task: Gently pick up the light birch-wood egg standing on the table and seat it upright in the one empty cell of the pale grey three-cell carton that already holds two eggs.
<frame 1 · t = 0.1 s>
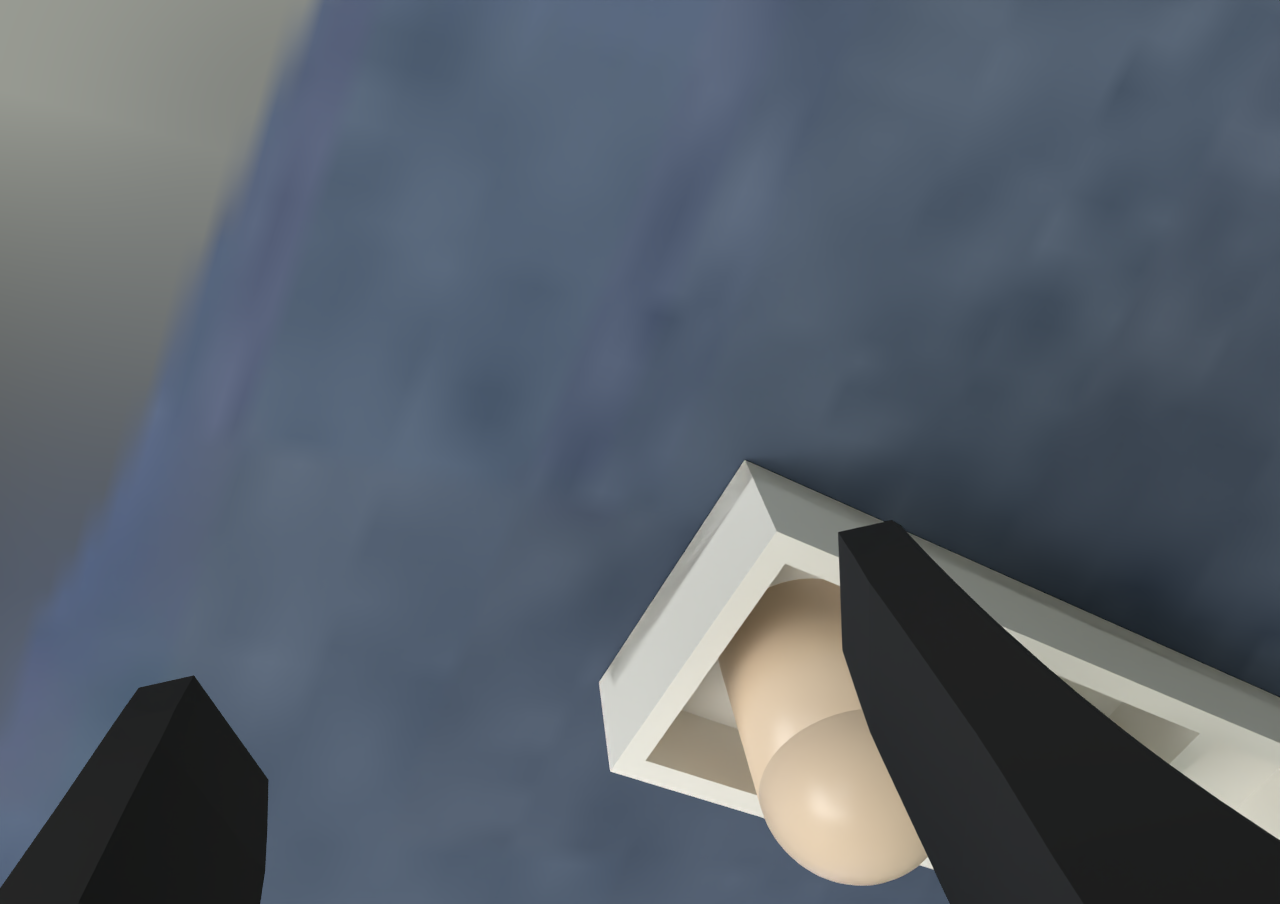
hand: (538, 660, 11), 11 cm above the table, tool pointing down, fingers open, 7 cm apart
egg carton: (984, 699, 27), on the table
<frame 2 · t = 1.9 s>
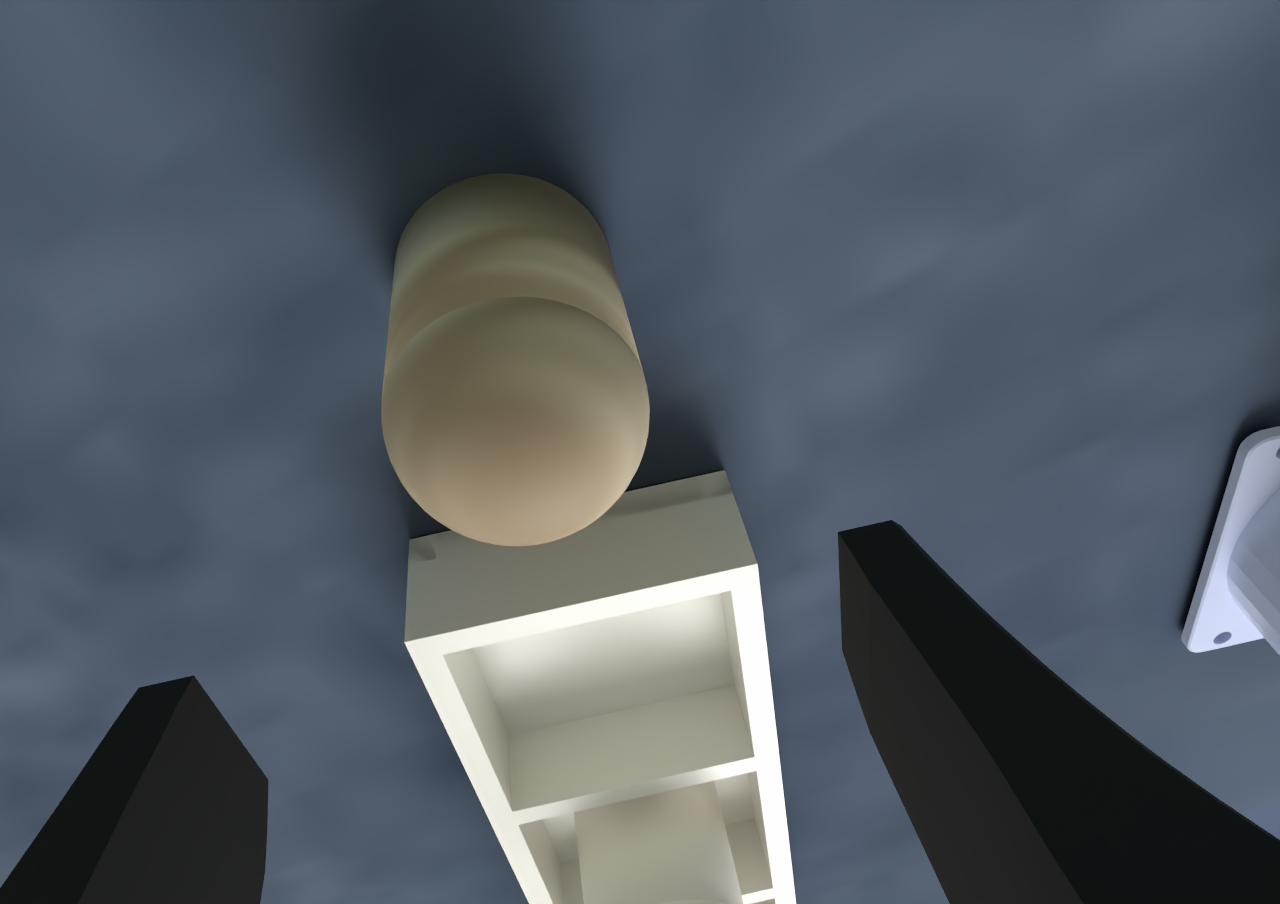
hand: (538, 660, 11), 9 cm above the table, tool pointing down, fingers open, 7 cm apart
egg carton: (638, 761, 28), on the table
wooden egg: (504, 276, 18), on the table
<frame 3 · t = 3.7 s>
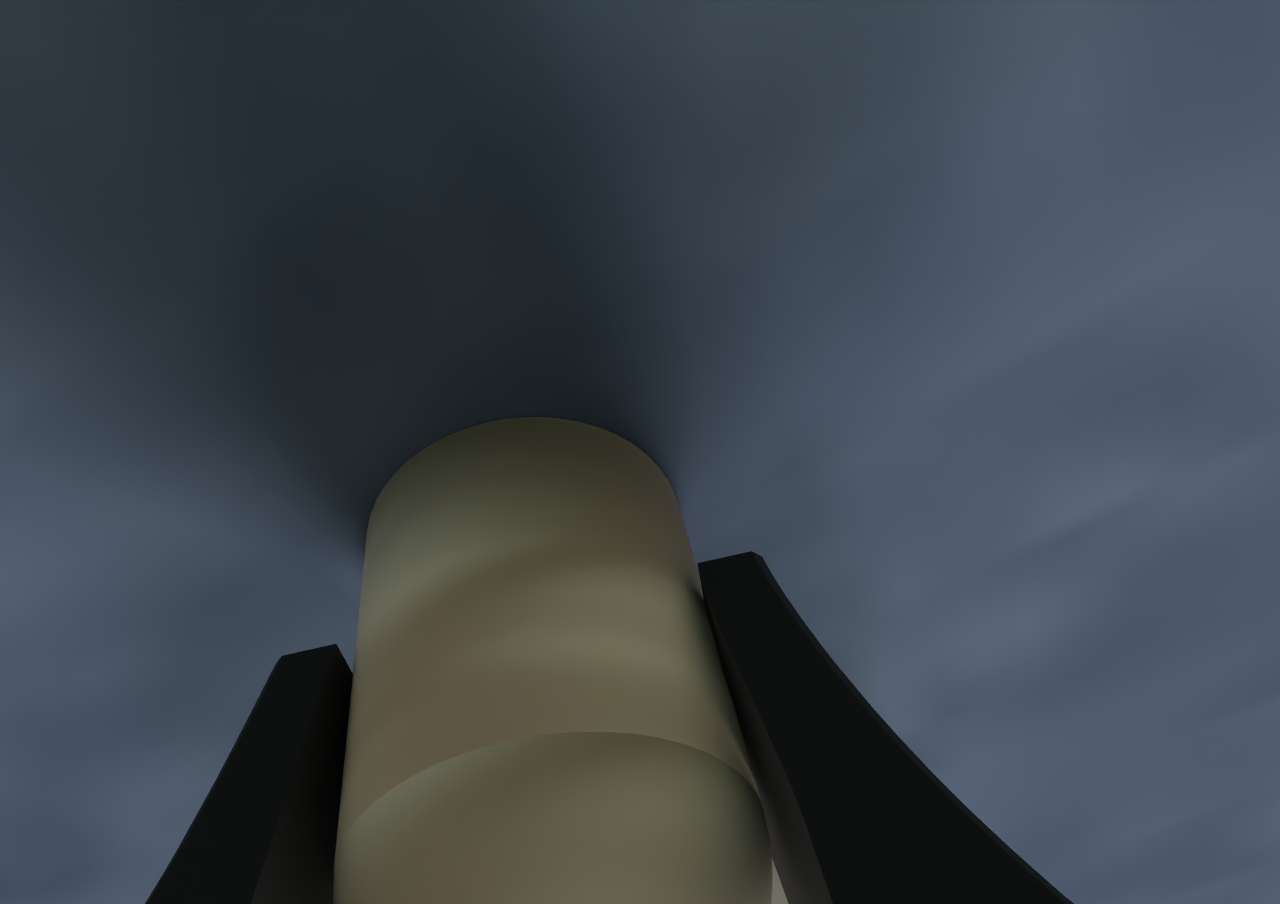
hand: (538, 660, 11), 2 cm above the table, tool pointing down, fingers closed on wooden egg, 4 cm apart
wooden egg: (527, 543, 13), on the table, touching gripper
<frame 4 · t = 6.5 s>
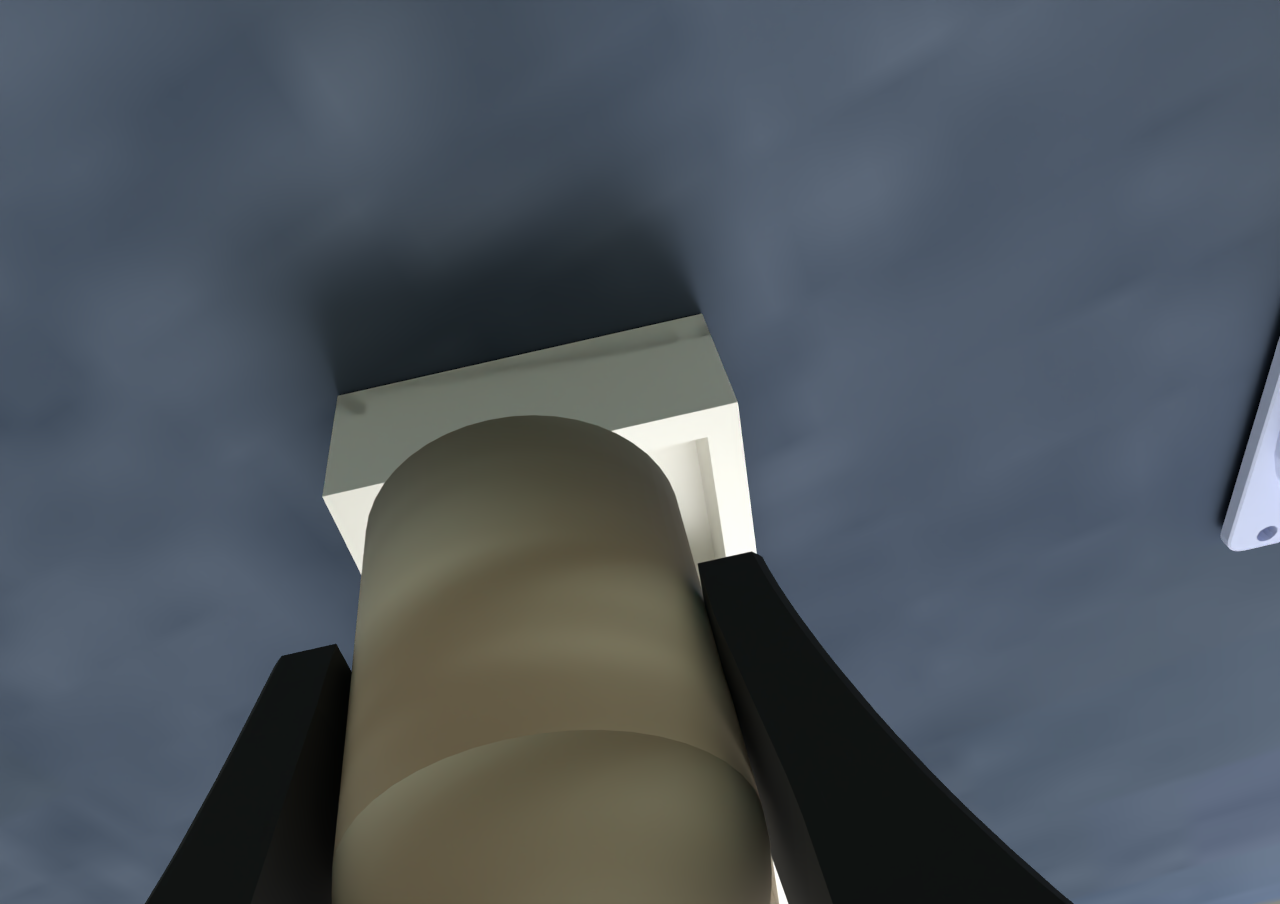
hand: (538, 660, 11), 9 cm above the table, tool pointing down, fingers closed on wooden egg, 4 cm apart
egg carton: (614, 678, 25), on the table
wooden egg: (527, 542, 13), point 7 cm above the table, touching gripper
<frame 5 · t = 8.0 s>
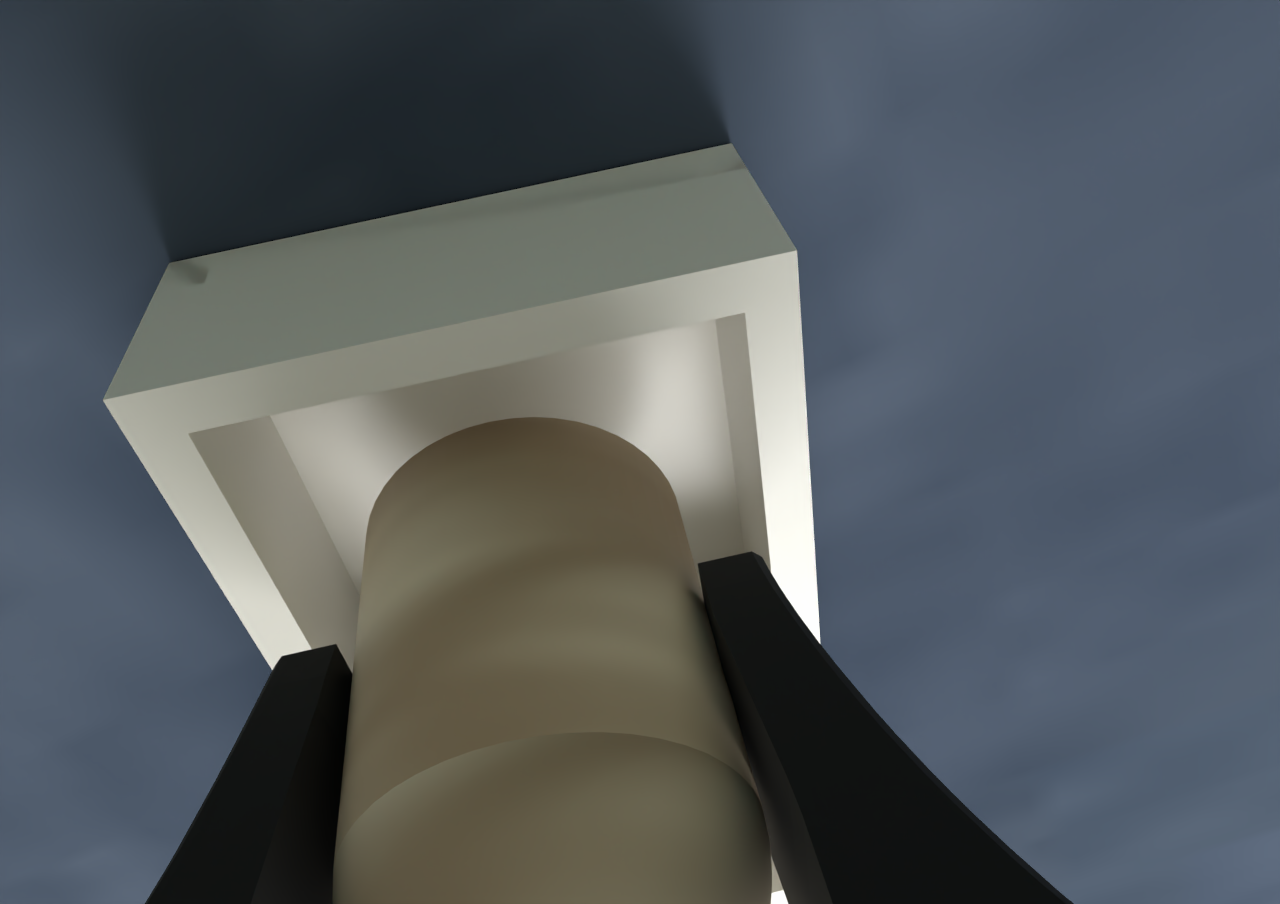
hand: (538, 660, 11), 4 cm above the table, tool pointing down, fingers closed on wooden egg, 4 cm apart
egg carton: (598, 694, 19), on the table
wooden egg: (527, 543, 13), point 3 cm above the table, touching gripper
when the fingers open (4 cm above the table, at t = 9.2 s): wooden egg drops 1 cm, resting on egg carton.
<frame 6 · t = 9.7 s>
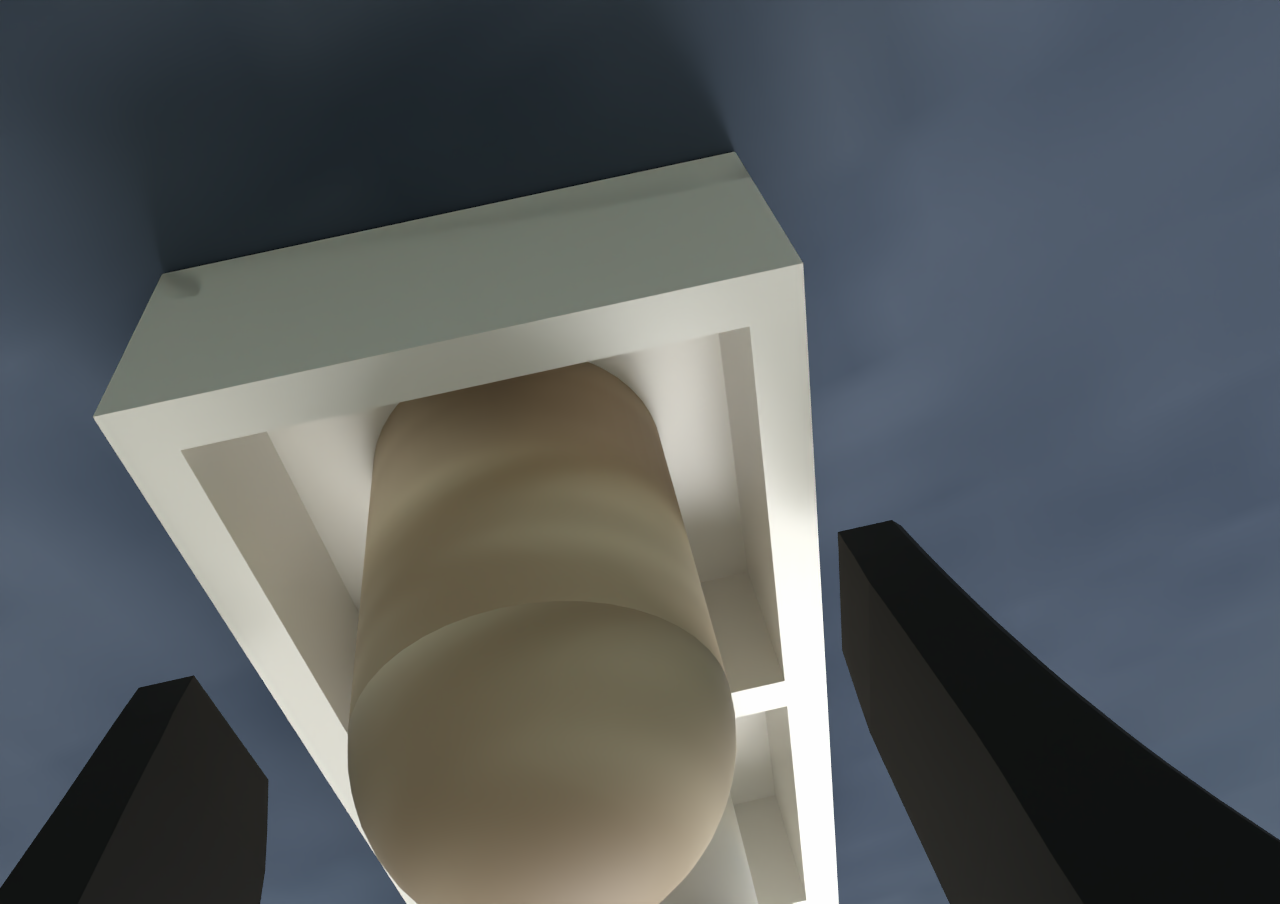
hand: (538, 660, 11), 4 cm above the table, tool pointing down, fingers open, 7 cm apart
egg carton: (599, 707, 18), on the table
wooden egg: (521, 471, 14), point 1 cm above the table, touching egg carton
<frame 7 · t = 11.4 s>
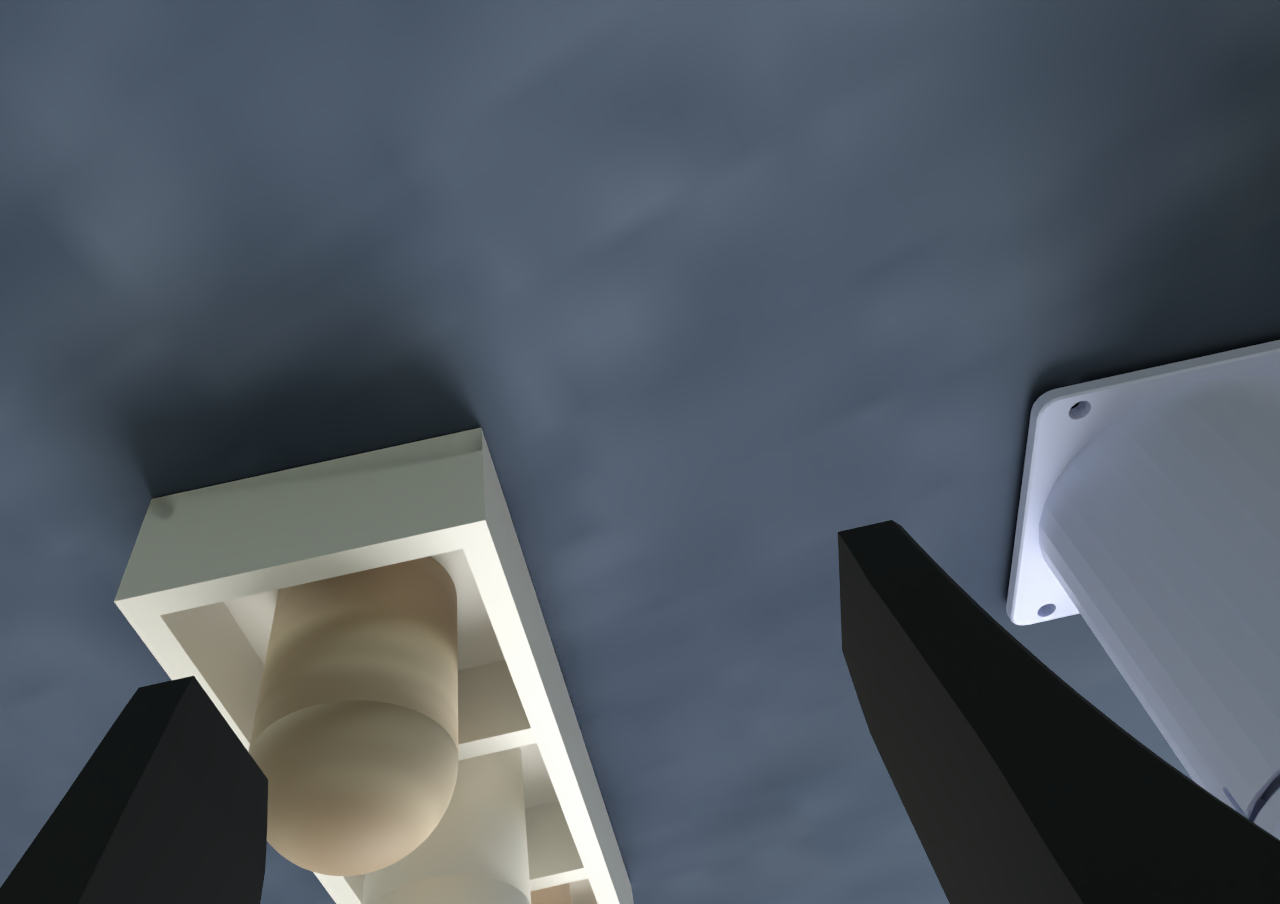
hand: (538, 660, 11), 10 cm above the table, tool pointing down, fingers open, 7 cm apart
egg carton: (447, 737, 27), on the table
wooden egg: (369, 601, 23), point 1 cm above the table, touching egg carton
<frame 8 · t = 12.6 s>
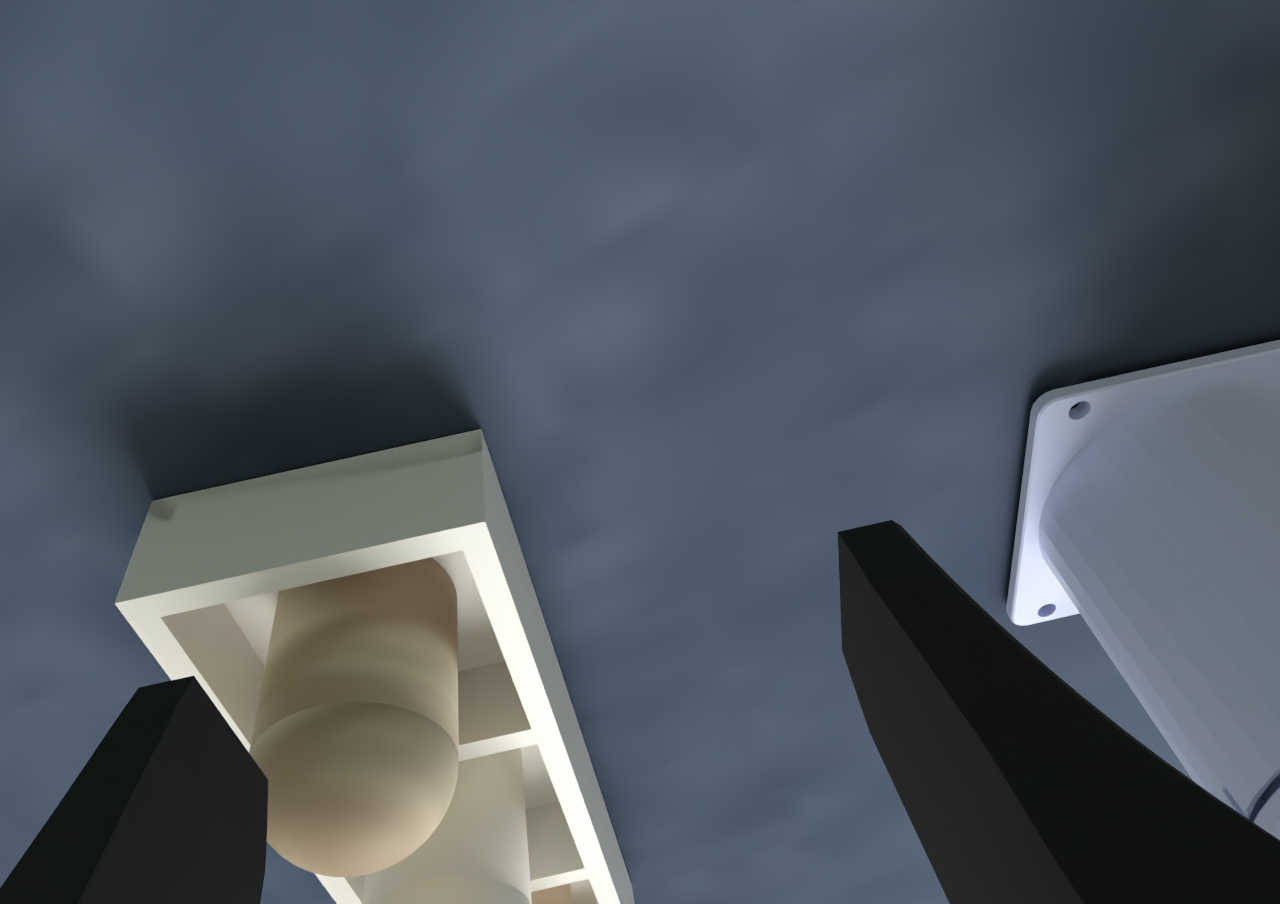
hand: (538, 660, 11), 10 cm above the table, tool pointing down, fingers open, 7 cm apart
egg carton: (448, 738, 27), on the table
wooden egg: (369, 603, 23), point 1 cm above the table, touching egg carton
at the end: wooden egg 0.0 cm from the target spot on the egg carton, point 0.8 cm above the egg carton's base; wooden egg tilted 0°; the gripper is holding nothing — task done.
